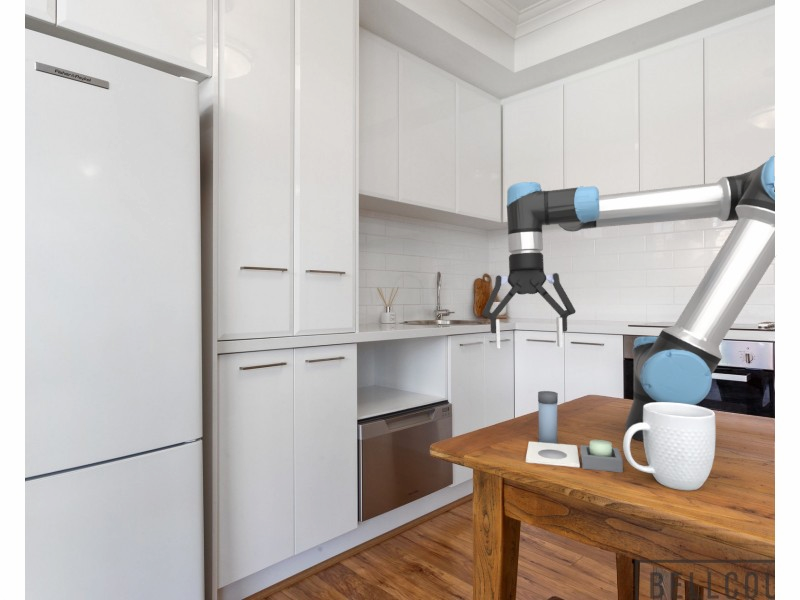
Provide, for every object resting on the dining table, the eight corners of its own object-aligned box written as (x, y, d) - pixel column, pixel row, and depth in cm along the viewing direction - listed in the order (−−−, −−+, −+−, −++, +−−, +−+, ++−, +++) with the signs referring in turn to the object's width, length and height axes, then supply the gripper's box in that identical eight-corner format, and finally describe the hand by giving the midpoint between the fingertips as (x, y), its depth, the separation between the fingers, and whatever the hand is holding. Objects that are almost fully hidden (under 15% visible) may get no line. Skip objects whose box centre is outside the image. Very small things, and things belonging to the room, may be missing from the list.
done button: (610, 453, 96) (610, 440, 96) (612, 460, 92) (612, 446, 92) (589, 451, 97) (588, 438, 97) (590, 458, 93) (590, 445, 93)
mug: (639, 496, 80) (639, 417, 80) (610, 471, 91) (610, 402, 91) (730, 496, 80) (730, 416, 79) (691, 471, 91) (691, 401, 90)
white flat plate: (576, 448, 104) (576, 444, 104) (579, 467, 93) (579, 463, 93) (528, 444, 108) (528, 440, 108) (525, 462, 96) (525, 458, 96)
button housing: (618, 460, 97) (618, 448, 97) (622, 472, 90) (622, 459, 90) (580, 456, 99) (580, 445, 99) (582, 468, 92) (582, 456, 92)
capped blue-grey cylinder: (557, 439, 111) (557, 391, 110) (557, 445, 107) (557, 395, 106) (538, 438, 112) (538, 390, 112) (537, 443, 108) (537, 394, 108)
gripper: (579, 251, 112) (582, 344, 112) (469, 257, 115) (472, 346, 115) (587, 248, 104) (590, 347, 104) (469, 254, 108) (473, 350, 108)
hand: (529, 347), depth 110 cm, fingers open, 13 cm apart
